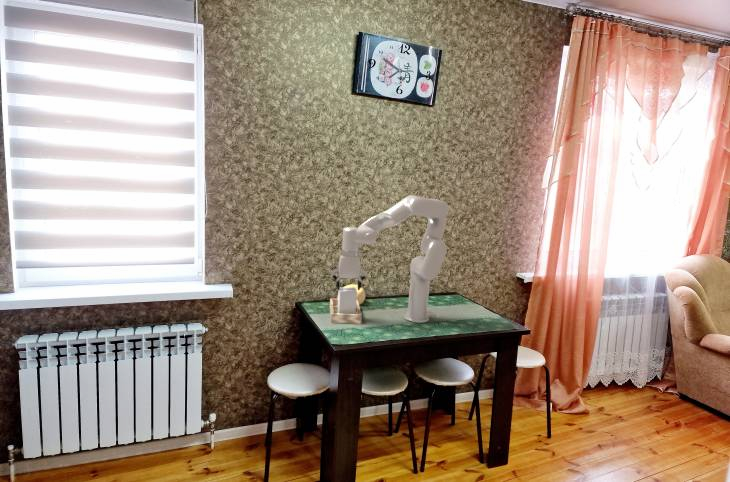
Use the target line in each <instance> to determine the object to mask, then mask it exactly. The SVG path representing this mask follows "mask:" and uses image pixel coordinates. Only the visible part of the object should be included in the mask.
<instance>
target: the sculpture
mask: <svg viewBox="0 0 730 482" xmlns="http://www.w3.org/2000/svg"><path fill="white" fill-rule="evenodd" d="M347 287H355V289H356V290H357V300H358V303H359V306H360V305H362V304H363V303H364V301H365V299H366V291H365V290H364V288H363V287H362V286H361V288H360V290H358V284H352V283H351V284H349V285H345V286H344V287H343V288H347Z"/></svg>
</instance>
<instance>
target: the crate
mask: <svg viewBox="0 0 730 482" xmlns="http://www.w3.org/2000/svg"><path fill="white" fill-rule="evenodd" d="M329 298H330V297H329ZM337 311H338V306H337V298H330V299H329V314H330V323H331V324H334V325H337V324H355V325H356V324H357V325H360V324H362V318H363V314H362V312H361V307H360V305H359V303H358V300H356V314H337Z"/></svg>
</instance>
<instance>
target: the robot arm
mask: <svg viewBox="0 0 730 482" xmlns="http://www.w3.org/2000/svg"><path fill="white" fill-rule="evenodd" d="M449 212H450V207H449V204H448V203H446V202H445V201H443V200H439V199H436V198H425V197H421V196H418V195H413V194H411V195H408V196H405V197H403V199H401V200H400V201H399V202H397V203H396V204H394V205H393V206H391V207H389V208H388V209H386V210H385V211H381V212H380V213H379V214H376V215H374V216H372V217H370V218H369V219H368V220H366V221H364V222H363V223H362V224H360V225H359V226H358V227H355V226H346V227H344V228H343V230H342V243H341V244H342V247H341V248H342V250H341V255H340V256H339V261H338V267H337V268H335V269H333V270H330V274H331V276H332V278H333V279H334V280H335V282H336V283H335V287H336V288H337V291H338V290H339V288H340V280H341V279H357V280H358V281H357V285H358V290H360V288H361V287H362V282H363V281H365V279H366V277H367V276H368V272H367V271H366V270H364V269H362V268H361V259H360V258H361V257H360V255H362V251H360V250H359V245H360V244H362V245H372V244H374V243H375V242H376V241H377V238H378V234H377V232H379V231H381V230H384V229H386V228H393V227H396V226H398V225H399V224H401V223H402V222H405V220H407V219H408V218H409V217H411V216H412V215H415V216H419V217H424V218H427V220H428V221H427V226H426V229H425V232H424V235H423V236H422V240H421V242H420V246H419V248H420V251H421V252H422V253H423V254H424V255H425V256H424V255H417V256H415V257H414V258H412V260H411V262H410V265H409V271H410V279H409V280H410V281H409V293H408V294H409V295H408V303H407V312H406V313H404V315H403V318H404V319H405V320H406V321H409V322H412V323H421V324H423V323H427V322H429V321H430V317H434V318H435V317H437V312H433V311H429V310H428V305H429V304H428V303H429V294H430V284H431V282H430V281H433V280H434V279H436V278H437V276H438V275H439V273H440V271H441V268H442V266H443V262H444V261H445V258H446V255H447V249H448V248H447V244H446V243H445V241H443V240H442V239H443V237H444V233H445V232H446V231H445V230H446V225H447V223H446V217H447V216H448V214H449ZM335 273H337V276H336V274H335ZM361 273H362V274H363V275H362V276H361Z"/></svg>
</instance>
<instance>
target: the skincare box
mask: <svg viewBox="0 0 730 482" xmlns="http://www.w3.org/2000/svg"><path fill="white" fill-rule="evenodd" d="M337 291H338V293H337V296H338V311H337V314H356V300H357V290H356V289H355V287H347V288H344V287H339V290H338V289H337Z"/></svg>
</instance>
